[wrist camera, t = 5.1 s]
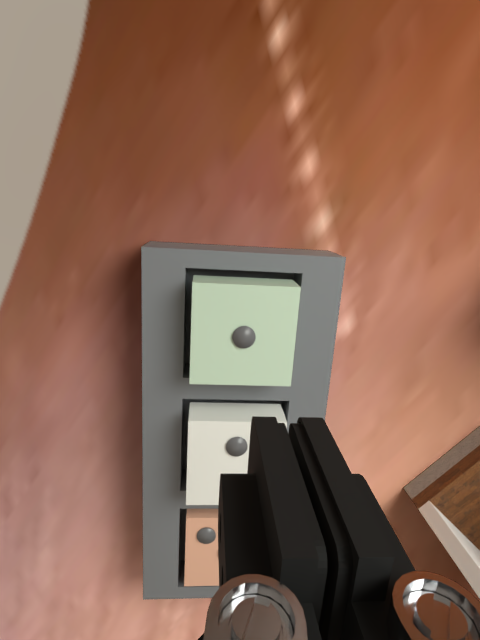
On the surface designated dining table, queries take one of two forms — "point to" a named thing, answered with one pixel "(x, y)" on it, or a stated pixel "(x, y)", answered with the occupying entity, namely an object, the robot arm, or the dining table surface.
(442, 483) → the brown-banded white pillar
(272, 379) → the button one
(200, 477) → the button two
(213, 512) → the button three
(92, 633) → the dining table surface
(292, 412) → the button board
